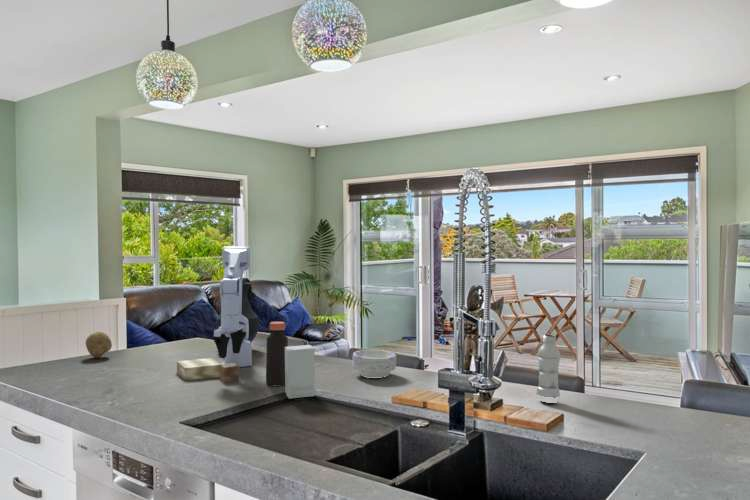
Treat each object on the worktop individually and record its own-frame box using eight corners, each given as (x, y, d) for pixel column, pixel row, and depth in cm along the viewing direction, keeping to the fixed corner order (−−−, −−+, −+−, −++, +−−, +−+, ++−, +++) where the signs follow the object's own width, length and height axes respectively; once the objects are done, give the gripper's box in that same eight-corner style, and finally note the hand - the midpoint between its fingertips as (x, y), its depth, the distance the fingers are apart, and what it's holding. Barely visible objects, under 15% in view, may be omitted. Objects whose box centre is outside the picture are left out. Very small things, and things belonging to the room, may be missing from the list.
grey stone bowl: (402, 379, 194) (403, 356, 194) (360, 382, 189) (360, 358, 189) (386, 369, 208) (386, 348, 208) (346, 372, 203) (347, 350, 203)
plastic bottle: (548, 407, 165) (549, 338, 164) (531, 401, 171) (533, 334, 170) (564, 404, 168) (566, 336, 167) (547, 398, 174) (549, 333, 173)
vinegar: (261, 383, 185) (262, 322, 185) (278, 380, 190) (279, 320, 190) (274, 387, 181) (275, 324, 180) (291, 384, 186) (292, 322, 185)
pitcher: (208, 353, 232) (209, 279, 232) (229, 343, 253) (230, 276, 252) (249, 355, 230) (250, 280, 229) (267, 345, 250) (268, 277, 249)
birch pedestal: (211, 369, 204) (211, 357, 204) (221, 376, 194) (221, 364, 194) (176, 372, 198) (177, 361, 198) (184, 380, 188) (184, 368, 188)
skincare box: (310, 391, 177) (311, 344, 176) (315, 397, 171) (316, 347, 171) (283, 394, 174) (284, 345, 173) (287, 399, 168) (288, 349, 168)
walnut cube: (234, 377, 193) (234, 363, 193) (238, 381, 189) (239, 366, 189) (219, 379, 190) (219, 364, 190) (223, 382, 186) (224, 367, 186)
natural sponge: (104, 354, 226) (104, 329, 226) (116, 357, 221) (116, 331, 221) (81, 358, 219) (81, 332, 219) (93, 361, 214) (93, 334, 213)
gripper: (232, 311, 197) (232, 350, 198) (206, 316, 184) (205, 358, 184) (250, 312, 195) (249, 352, 195) (224, 317, 181) (224, 360, 181)
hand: (229, 355), depth 189 cm, fingers open, 7 cm apart
